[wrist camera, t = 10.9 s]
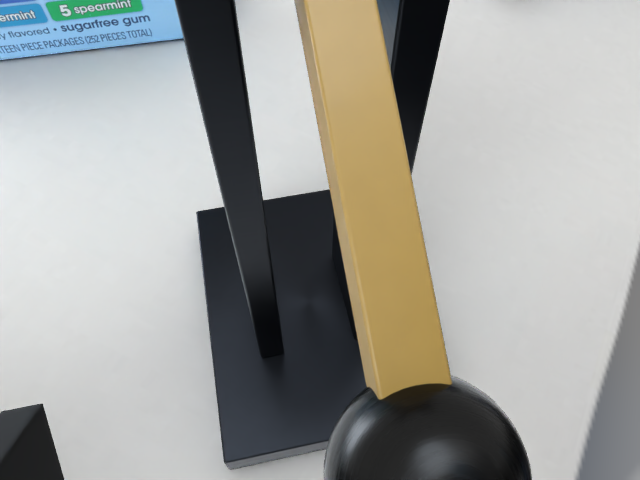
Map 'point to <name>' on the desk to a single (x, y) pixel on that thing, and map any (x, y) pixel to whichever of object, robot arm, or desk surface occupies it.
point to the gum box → (83, 25)
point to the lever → (390, 277)
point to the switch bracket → (284, 247)
